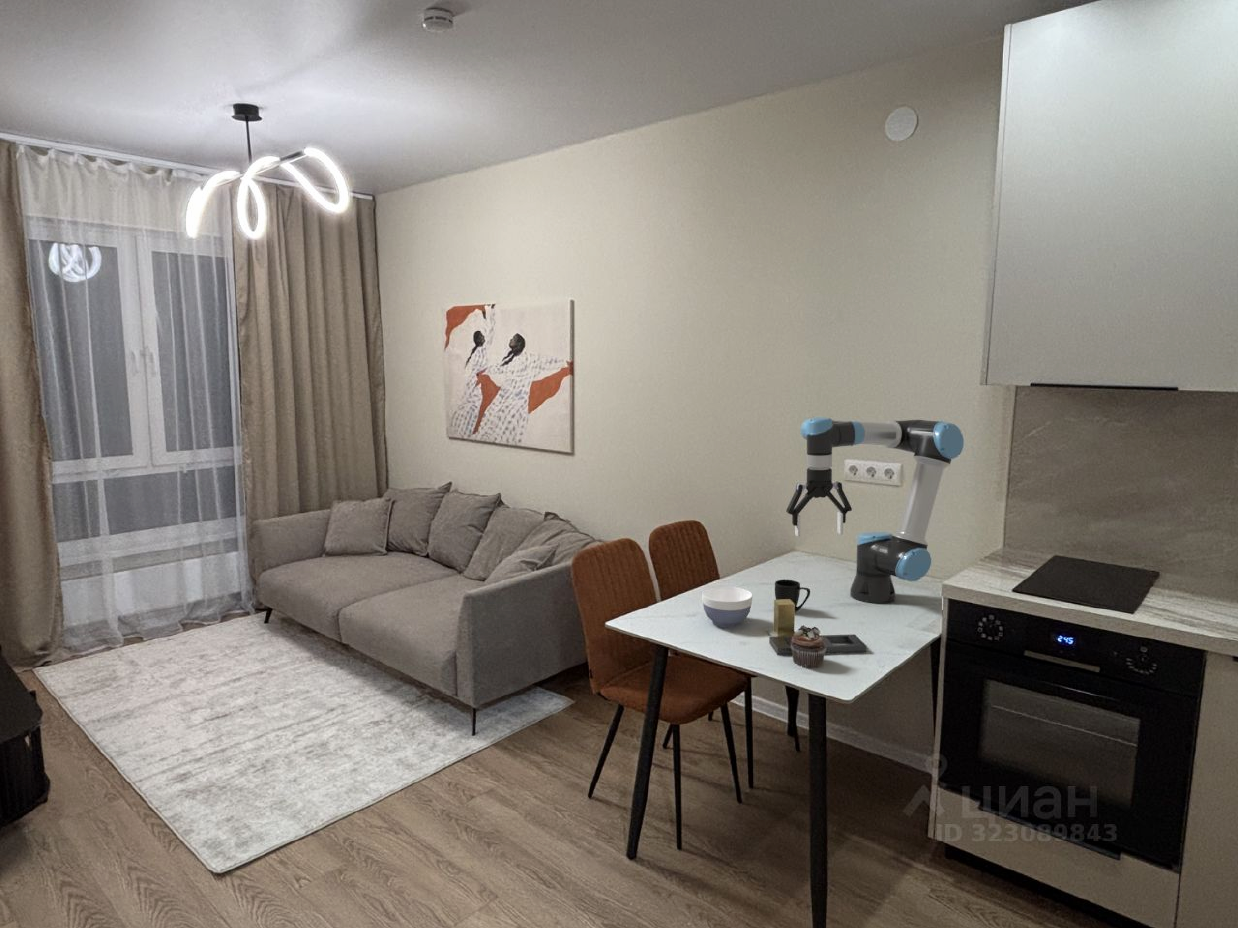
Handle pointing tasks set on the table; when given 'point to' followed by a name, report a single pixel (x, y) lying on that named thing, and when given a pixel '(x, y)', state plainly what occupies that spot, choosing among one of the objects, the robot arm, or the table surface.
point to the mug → (790, 591)
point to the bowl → (727, 605)
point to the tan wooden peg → (784, 617)
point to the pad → (773, 633)
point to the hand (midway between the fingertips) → (818, 534)
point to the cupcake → (808, 647)
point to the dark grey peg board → (854, 642)
